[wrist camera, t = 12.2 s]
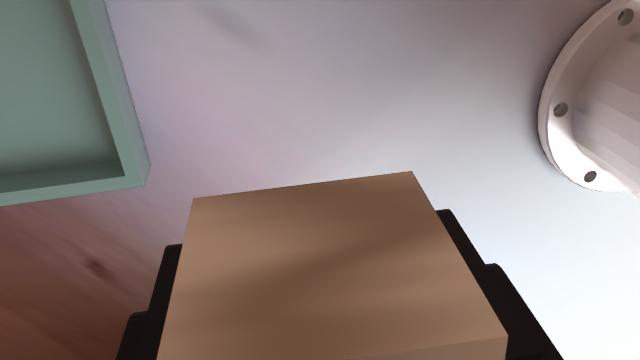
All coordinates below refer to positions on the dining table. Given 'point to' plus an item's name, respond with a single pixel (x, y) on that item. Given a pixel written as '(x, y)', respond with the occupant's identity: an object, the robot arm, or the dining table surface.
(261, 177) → the dining table surface
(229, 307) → the letter cube
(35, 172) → the green tray
